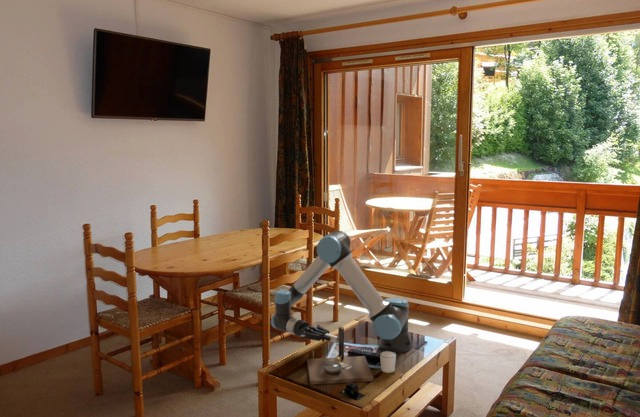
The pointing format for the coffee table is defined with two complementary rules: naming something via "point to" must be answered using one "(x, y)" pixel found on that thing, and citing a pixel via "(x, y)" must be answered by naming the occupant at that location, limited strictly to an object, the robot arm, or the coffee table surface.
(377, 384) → the coffee table surface
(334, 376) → the crank stand
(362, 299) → the robot arm
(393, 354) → the shot glass
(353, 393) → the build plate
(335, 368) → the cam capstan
